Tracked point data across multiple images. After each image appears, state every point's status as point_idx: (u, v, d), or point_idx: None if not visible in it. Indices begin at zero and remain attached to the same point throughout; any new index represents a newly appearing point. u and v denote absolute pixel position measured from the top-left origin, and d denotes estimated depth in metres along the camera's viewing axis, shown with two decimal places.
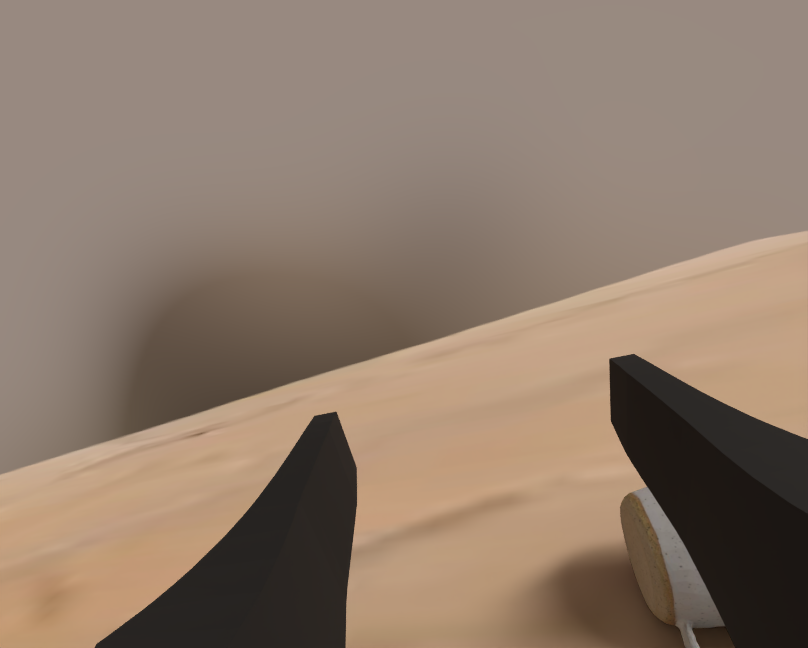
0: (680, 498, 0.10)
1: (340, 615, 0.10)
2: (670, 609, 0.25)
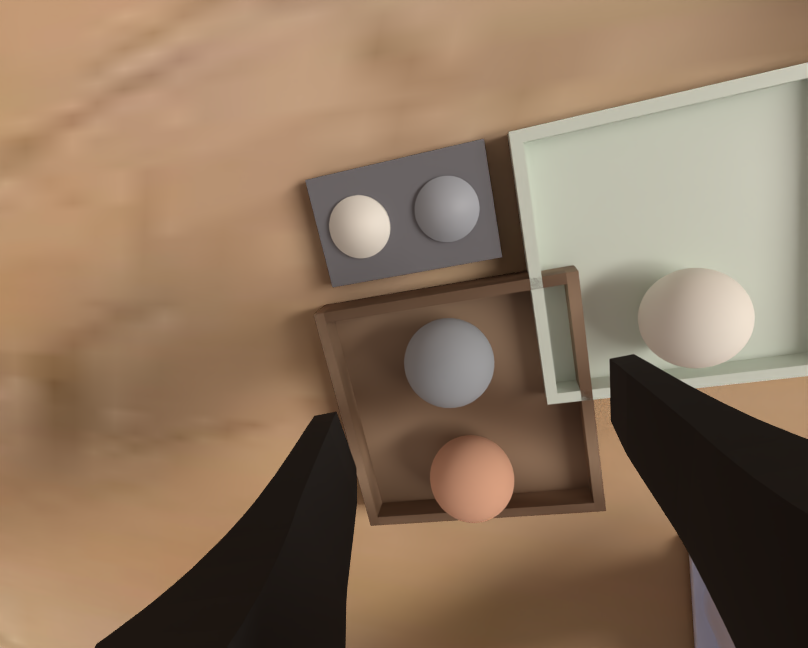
0: (680, 498, 0.10)
1: (340, 615, 0.10)
2: None
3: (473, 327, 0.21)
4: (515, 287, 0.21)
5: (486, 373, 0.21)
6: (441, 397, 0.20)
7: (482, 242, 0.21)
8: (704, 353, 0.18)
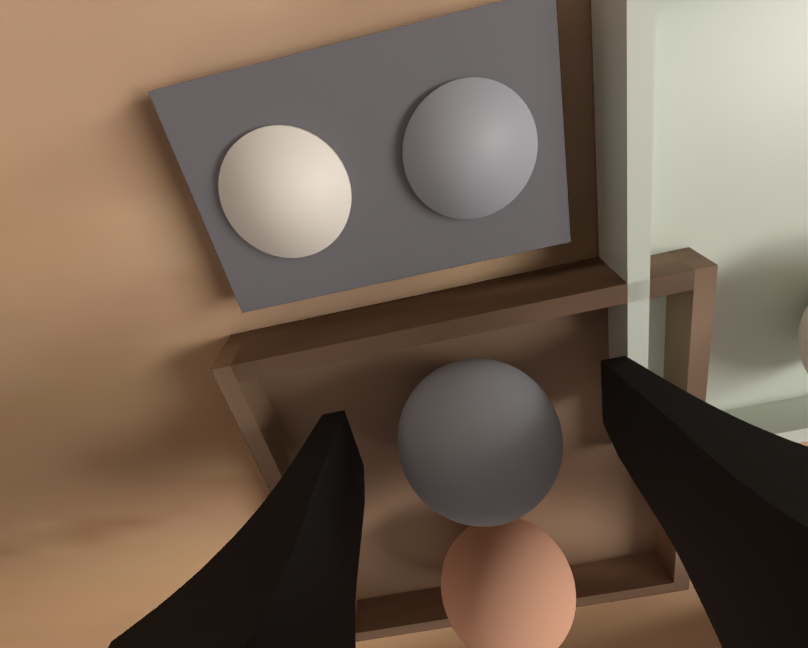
0: (669, 501, 0.10)
1: (350, 613, 0.10)
2: None
3: (526, 381, 0.11)
4: (599, 300, 0.11)
5: (558, 466, 0.11)
6: (481, 523, 0.11)
7: (535, 215, 0.11)
8: None
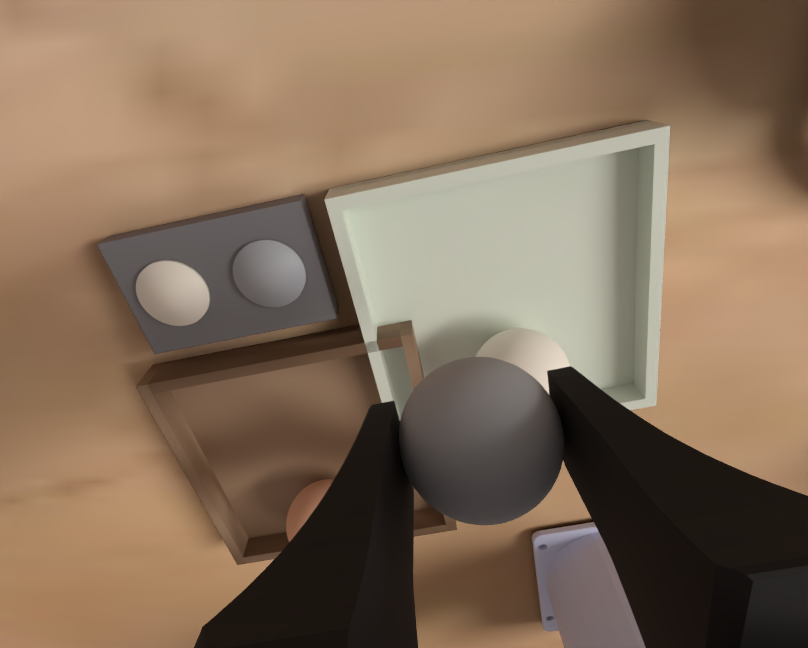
0: (604, 511, 0.10)
1: (411, 603, 0.10)
2: None
3: (528, 379, 0.11)
4: (351, 351, 0.20)
5: (559, 465, 0.11)
6: (482, 521, 0.11)
7: (313, 305, 0.20)
8: None
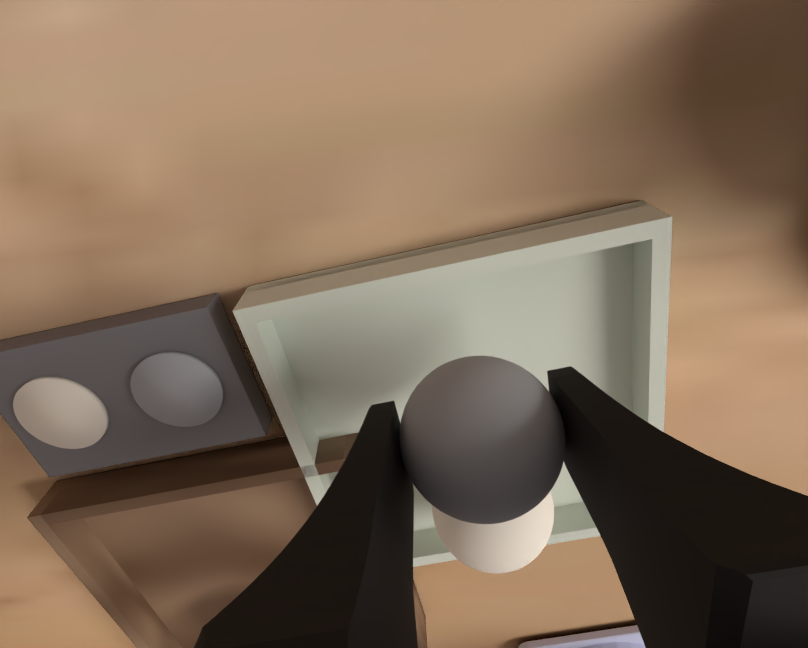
0: (604, 511, 0.10)
1: (411, 603, 0.10)
2: None
3: (529, 378, 0.11)
4: (284, 476, 0.17)
5: (560, 464, 0.11)
6: (483, 521, 0.11)
7: (236, 422, 0.16)
8: (496, 571, 0.15)
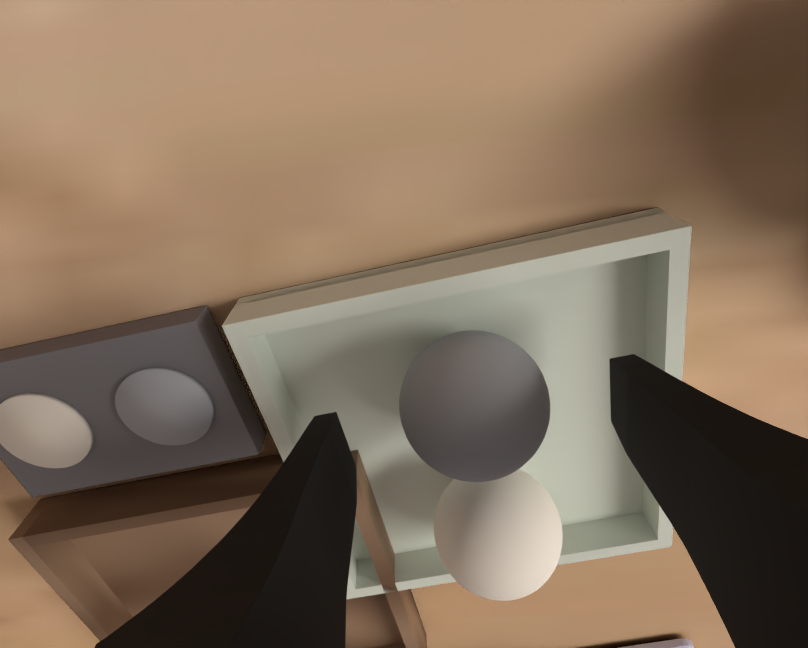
0: (680, 498, 0.10)
1: (340, 614, 0.10)
2: None
3: (517, 349, 0.12)
4: None
5: (545, 427, 0.12)
6: (475, 477, 0.12)
7: (227, 440, 0.15)
8: (501, 599, 0.14)
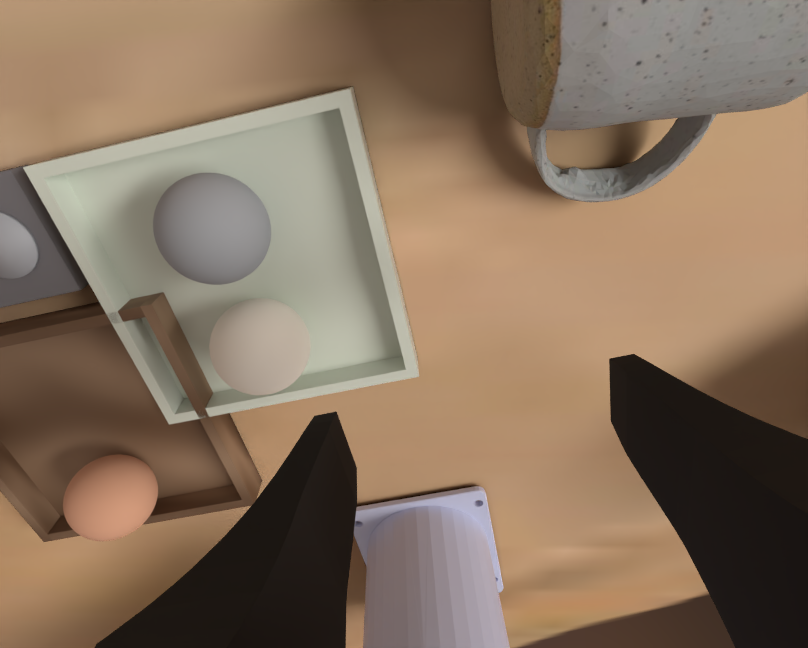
0: (680, 498, 0.10)
1: (340, 614, 0.10)
2: None
3: (235, 181, 0.17)
4: (95, 322, 0.20)
5: (254, 236, 0.17)
6: (198, 269, 0.17)
7: (53, 276, 0.20)
8: (250, 388, 0.19)
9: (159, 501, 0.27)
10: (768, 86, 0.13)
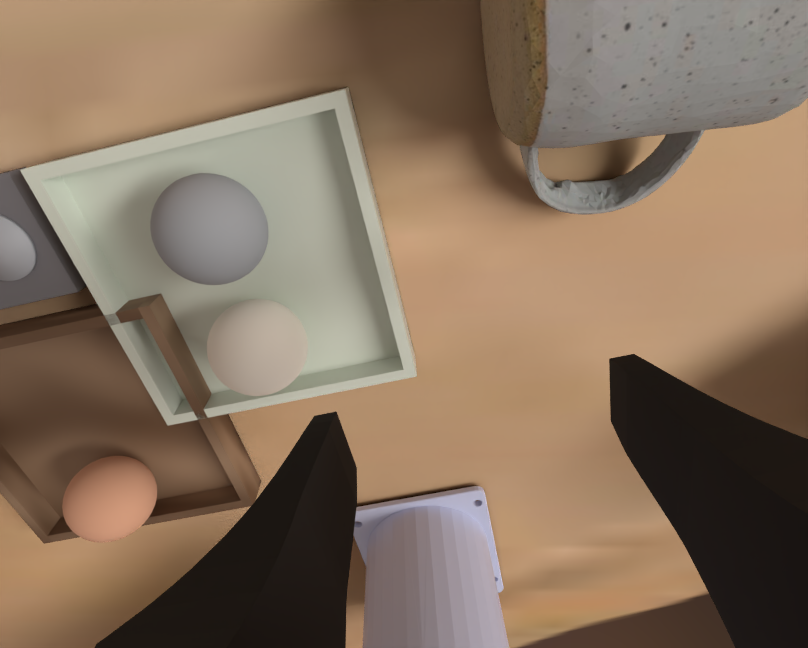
0: (680, 498, 0.10)
1: (340, 614, 0.10)
2: None
3: (232, 181, 0.17)
4: (93, 324, 0.20)
5: (251, 236, 0.17)
6: (196, 269, 0.17)
7: (51, 278, 0.20)
8: (247, 389, 0.19)
9: (158, 502, 0.27)
10: (753, 105, 0.13)
